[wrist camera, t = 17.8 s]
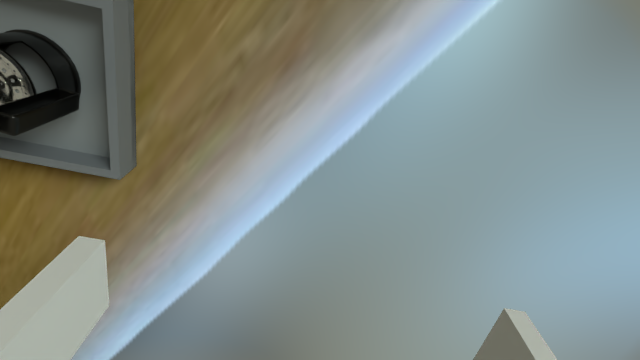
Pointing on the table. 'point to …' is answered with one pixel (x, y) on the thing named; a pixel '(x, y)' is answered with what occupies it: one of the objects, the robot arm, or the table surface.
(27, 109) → the french press
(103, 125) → the tray
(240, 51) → the table surface
